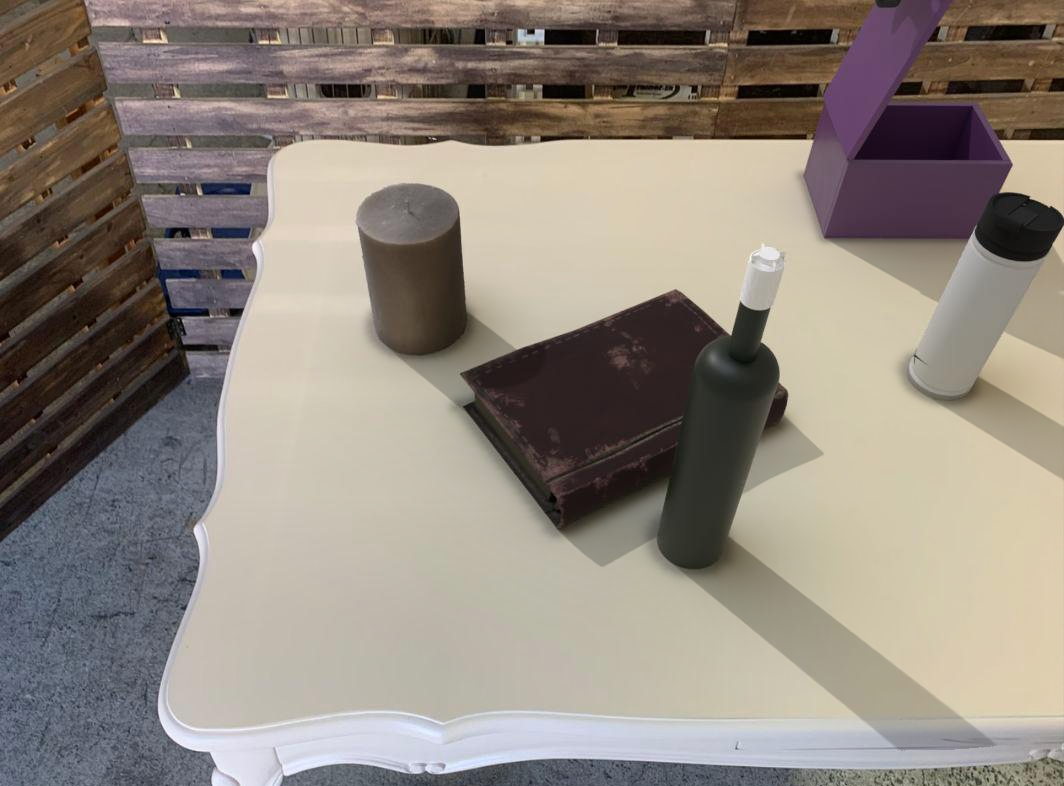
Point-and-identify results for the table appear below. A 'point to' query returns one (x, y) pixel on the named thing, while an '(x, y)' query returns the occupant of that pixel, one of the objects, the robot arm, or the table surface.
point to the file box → (908, 173)
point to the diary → (597, 404)
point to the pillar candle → (413, 267)
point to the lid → (878, 66)
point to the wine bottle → (722, 424)
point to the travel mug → (983, 293)
